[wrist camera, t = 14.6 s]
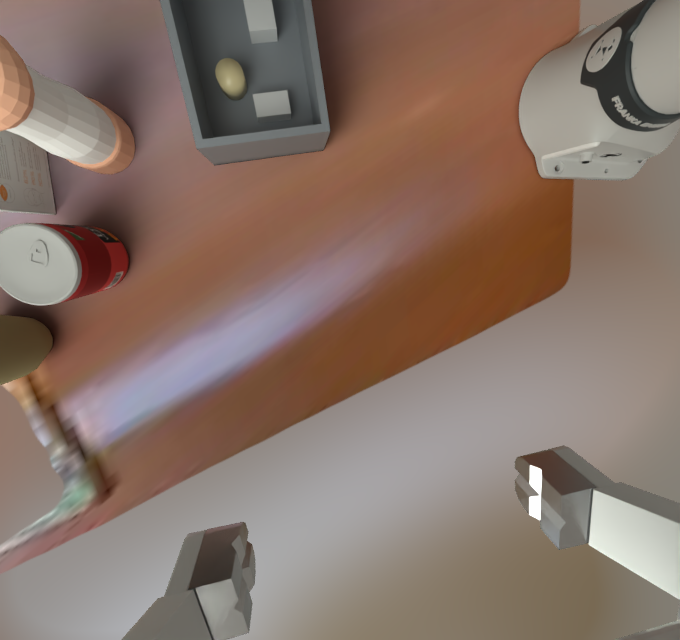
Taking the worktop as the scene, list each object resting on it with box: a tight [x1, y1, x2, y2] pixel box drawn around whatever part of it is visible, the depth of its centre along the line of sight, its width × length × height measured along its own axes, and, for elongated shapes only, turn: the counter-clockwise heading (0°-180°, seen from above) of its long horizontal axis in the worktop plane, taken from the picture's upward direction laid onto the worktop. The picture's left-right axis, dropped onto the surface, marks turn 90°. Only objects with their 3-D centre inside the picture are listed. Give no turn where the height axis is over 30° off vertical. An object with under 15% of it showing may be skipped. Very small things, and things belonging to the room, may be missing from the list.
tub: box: [160, 0, 330, 165], centre depth 35 cm, size 14×20×8 cm
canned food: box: [0, 223, 129, 305], centre depth 37 cm, size 8×8×11 cm
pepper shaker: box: [0, 35, 135, 174], centre depth 30 cm, size 7×7×19 cm
